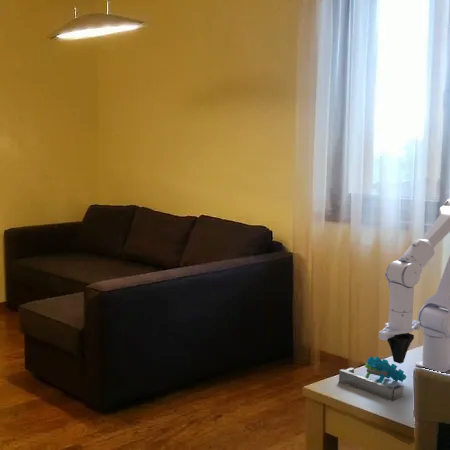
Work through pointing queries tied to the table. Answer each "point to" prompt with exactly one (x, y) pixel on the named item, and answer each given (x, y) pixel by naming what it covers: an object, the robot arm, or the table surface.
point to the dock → (370, 385)
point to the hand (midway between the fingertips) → (398, 362)
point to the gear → (383, 370)
